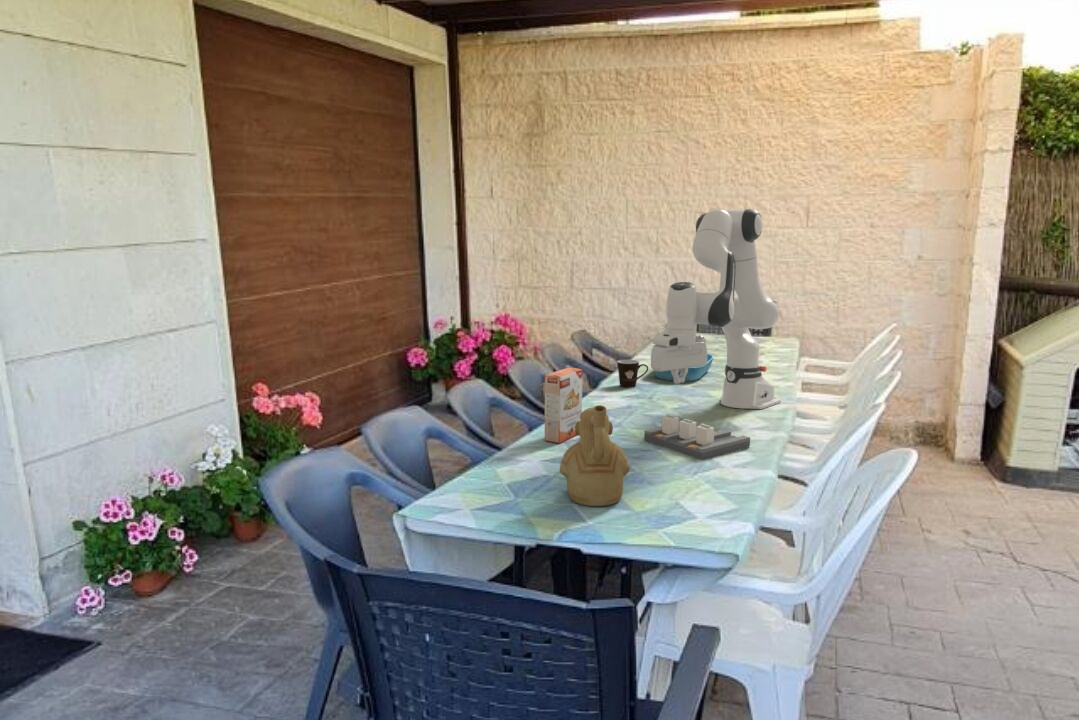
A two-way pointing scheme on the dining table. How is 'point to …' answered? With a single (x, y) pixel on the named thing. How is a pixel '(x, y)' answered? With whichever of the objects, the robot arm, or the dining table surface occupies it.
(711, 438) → the tab
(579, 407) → the cracker box
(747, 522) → the dining table surface
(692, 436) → the white rectangular block
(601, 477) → the ceramic vessel
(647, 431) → the switch board
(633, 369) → the coffee mug
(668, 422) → the tab
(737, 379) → the robot arm
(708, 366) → the casserole dish
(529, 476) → the dining table surface
